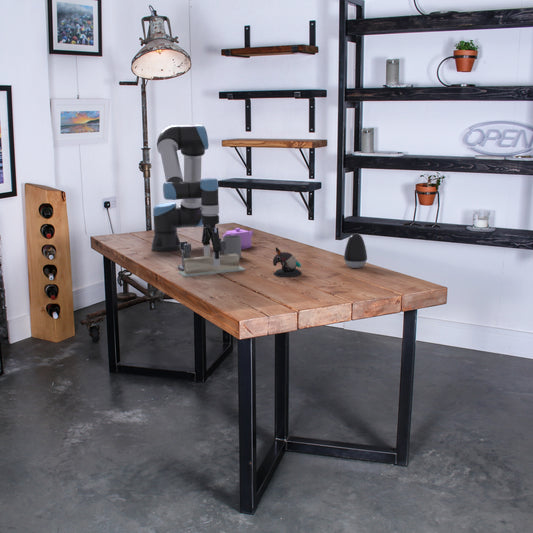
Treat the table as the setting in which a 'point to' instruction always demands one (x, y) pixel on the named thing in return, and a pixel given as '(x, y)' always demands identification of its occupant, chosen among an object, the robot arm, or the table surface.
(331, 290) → the table surface
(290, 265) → the figurine
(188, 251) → the rack
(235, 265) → the rail
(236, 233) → the teapot
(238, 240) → the cup
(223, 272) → the mat
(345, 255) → the black speaker
